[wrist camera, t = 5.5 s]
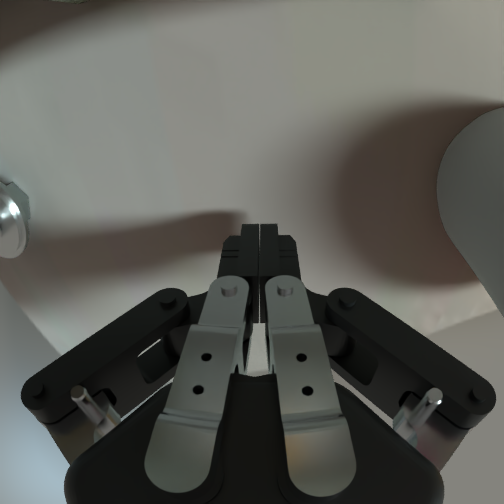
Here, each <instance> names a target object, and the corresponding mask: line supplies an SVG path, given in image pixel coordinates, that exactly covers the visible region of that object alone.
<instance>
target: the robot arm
mask: <svg viewBox="0 0 504 504" xmlns="http://www.w3.org/2000/svg"><path fill="white" fill-rule="evenodd" d="M259 284H260V323H265V342H266V352H267V363H268V373H269V374H267V375H262V376H257V377H252V376H247V375H246V374H247V367H248V360H249V354H250V347H251V335H252V332H253V323H259ZM159 339H161V340H160V341H159V342H158V343H156V344H155V345H154V346H152V347H151V348H150V349H148V350H147V351H146V352H144V353H143V354H142V355H140V356H139V357H138V355H139V354H140V353H141V352H142V351H144V350H145V349H147V348H148V347H149V346H151V345H152V344H153V343H155V342H156V341H157V340H159ZM331 369H333V370H334V371H335V372H336V373H337V374H339V375H340V376H341V377H342V378H343V379H344V380H346V381H347V382H348V383H349V384H350V385H352V386H353V387H354V388H355V389H356V390H358V391H359V392H360V393H361V394H362V395H364V396H365V397H366V398H367V399H368V400H370V401H371V402H372V403H373V404H374V405H376V406H377V407H378V408H379V409H381V410H382V411H383V412H384V413H385V414H387V415H388V416H389V417H390V418H392V419H393V429H392V428H391V427H390V426H389V425H388V424H387V423H386V422H384V421H383V420H382V419H381V418H380V417H379V416H378V415H377V414H375V413H374V412H373V411H372V410H371V409H370V408H369V407H368V406H367V405H365V404H364V403H363V402H362V401H361V400H360V399H359V398H358V397H357V396H355V395H354V394H353V393H352V392H351V391H350V390H348V389H347V388H345V387H344V386H342V385H340V384H338V383H336V382H334V379H333V375H332V371H331ZM173 377H174V379H173V382H172V383H170V384H168V385H166V386H165V387H163V388H162V389H160V390H159V391H158V392H156V393H155V394H154V395H153V396H152V397H150V398H149V399H148V400H147V401H146V402H145V403H143V404H142V405H141V406H140V407H139V408H137V409H136V410H135V411H134V412H133V413H131V414H130V415H129V416H128V417H127V418H125V419H124V420H123V421H122V422H121V418H122V417H123V416H124V415H126V414H127V413H128V412H130V411H131V410H132V409H134V408H135V407H136V406H138V405H139V404H140V403H141V402H143V401H144V400H145V399H146V398H148V397H149V396H150V395H152V394H153V393H154V392H155V391H157V390H158V389H159V388H160V387H162V386H163V385H164V384H165V383H167V382H168V381H169V380H170V379H172V378H173ZM21 400H22V402H23V404H24V406H25V407H26V408H27V409H28V410H29V411H30V412H31V413H32V414H33V415H34V416H35V417H36V418H37V420H38V421H39V422H40V423H41V424H42V425H43V426H44V427H46V428H47V429H48V431H49V433H50V434H51V436H52V438H53V439H54V441H55V443H56V444H57V446H58V447H59V449H60V451H61V452H62V454H63V455H64V457H65V458H66V460H67V461H68V463H69V464H70V467H69V469H68V471H67V473H66V476H65V481H64V493H65V498H66V502H67V504H443V499H444V484H443V480H442V477H441V475H440V473H439V472H440V471H441V470H442V468H443V467H444V466H445V464H446V463H447V462H448V460H449V459H450V457H451V456H452V455H453V453H454V451H455V450H456V449H457V448H458V446H459V445H460V443H461V442H462V440H463V439H464V437H465V435H467V434H468V433H469V432H470V431H471V430H472V429H473V428H474V427H475V426H476V425H477V424H478V423H479V422H480V421H481V420H482V419H483V418H484V417H485V416H486V415H487V414H488V413H489V412H490V411H491V410H492V409H493V408H494V406H495V403H496V394H495V391H494V388H493V387H492V385H491V384H490V383H489V382H488V381H487V380H485V379H484V378H482V377H481V376H480V375H478V374H477V373H476V372H474V371H473V370H471V369H470V368H468V367H467V366H466V365H465V364H463V363H462V362H460V361H459V360H457V359H456V358H455V357H453V356H452V355H450V354H449V353H447V352H446V351H445V350H443V349H442V348H440V347H439V346H438V345H436V344H435V343H433V342H432V341H430V340H429V339H428V338H426V337H425V336H423V335H422V334H420V333H419V332H417V331H416V330H415V329H413V328H412V327H410V326H409V325H407V324H406V323H404V322H403V321H402V320H400V319H399V318H397V317H396V316H394V315H393V314H391V313H390V312H388V311H387V310H385V309H384V308H382V307H381V306H380V305H378V304H377V303H375V302H374V301H372V300H371V299H369V298H368V297H366V296H365V295H363V294H362V293H360V292H359V291H357V290H354V289H351V288H338V289H335V290H333V291H332V292H330V294H329V295H328V296H325V295H320V294H316V293H314V292H311V291H310V290H308V289H307V288H306V287H305V286H304V284H303V282H302V281H301V275H300V268H299V261H298V254H297V247H296V242H295V240H294V239H293V238H292V237H291V236H290V235H278V226H277V224H260V242H259V224H242V228H241V236H229V237H228V238H227V239H226V240H225V242H224V243H223V248H222V254H221V259H220V264H219V270H218V275H217V279H216V280H214V281H213V282H212V283H211V285H210V287H209V290H208V291H207V292H205V293H203V294H199V295H195V296H191V297H187V294H186V293H185V292H184V291H182V290H180V289H177V288H166V289H162V290H160V291H158V292H156V293H155V294H153V295H152V296H150V297H149V298H147V299H146V300H144V301H143V302H141V303H140V304H138V305H137V306H135V307H134V308H132V309H131V310H129V311H128V312H126V313H125V314H123V315H122V316H120V317H119V318H117V319H116V320H114V321H113V322H111V323H110V324H108V325H107V326H105V327H104V328H102V329H101V330H99V331H98V332H96V333H95V334H93V335H92V336H90V337H89V338H87V339H86V340H84V341H83V342H81V343H80V344H79V345H77V346H76V347H74V348H73V349H71V350H70V351H68V352H67V353H65V354H64V355H62V356H61V357H59V358H58V359H57V360H55V361H54V362H52V363H51V364H49V365H48V366H47V367H45V368H43V369H42V370H41V371H39V372H38V373H36V374H35V375H33V376H32V377H31V378H29V379H28V380H27V381H26V382H25V384H24V386H23V388H22V391H21Z"/></svg>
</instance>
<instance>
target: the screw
mask: <svg viewBox="0 0 504 504" xmlns="http://www.w3.org/2000/svg"><path fill="white" fill-rule="evenodd" d="M29 219H30V212H29V200H28V196H27V195H26V194H25V193H24V192H22V191H21V190H20V189H19V188H18V187H17V186H16V185H15V184H14V183H13V182H12V183H10V184H8V185H7V186H6V185H4V184H3V183H1V182H0V257H4V258H15V257H17V256H19V255H20V254H21V253H22V252H23V251H24V249H25V248H26V247H27V244H28V240H29V228H28V222H27V221H28V220H29Z"/></svg>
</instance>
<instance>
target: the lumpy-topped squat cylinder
mask: <svg viewBox="0 0 504 504" xmlns="http://www.w3.org/2000/svg"><path fill="white" fill-rule="evenodd" d="M437 201H438V207H439V212H440V217H441V221H442V224H443V227H444V229H445V231H446V233H447V234H448V236H449V238H450V239H451V241H452V242H453V244H454V245H455V247H456V248H457V249H458V251H459V252H460V253H461V255H462V256H463V258H464V259H465V260H466V262H467V263H468V264H469V266H470V267H471V269H472V270H473V271H474V273H475V274H476V276H477V277H478V279H479V280H480V282H481V283H482V285H483V286H484V288H485V289H486V291H487V292H488V294H489V295H490V297H491V298H492V300H493V301H494V303H495V304H496V306H497V308H498V309H499V311H500V312H501V314H502V316H503V317H504V107H503V108H498V109H495V110H492V111H489V112H487V113H484V114H483V115H481V116H479V117H478V118H476V119H475V120H474V121H472V122H471V123H470V124H468V125H467V126H466V127H465V128H464V129H463V130H462V131H461V132H460V133H459V134H458V135H457V136H456V137H455V138H454V139H453V140H452V142H451V143H450V145H449V146H448V148H447V150H446V152H445V154H444V156H443V158H442V161H441V164H440V167H439V171H438V176H437Z"/></svg>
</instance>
